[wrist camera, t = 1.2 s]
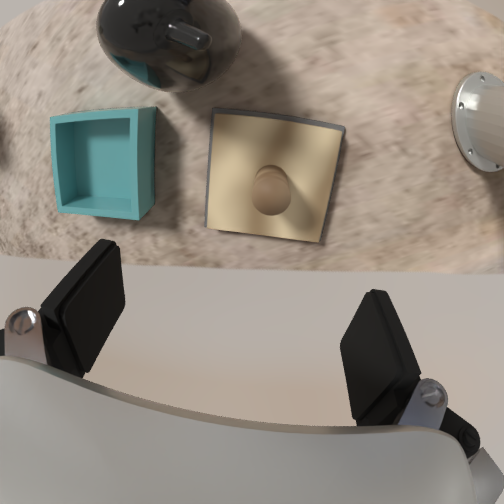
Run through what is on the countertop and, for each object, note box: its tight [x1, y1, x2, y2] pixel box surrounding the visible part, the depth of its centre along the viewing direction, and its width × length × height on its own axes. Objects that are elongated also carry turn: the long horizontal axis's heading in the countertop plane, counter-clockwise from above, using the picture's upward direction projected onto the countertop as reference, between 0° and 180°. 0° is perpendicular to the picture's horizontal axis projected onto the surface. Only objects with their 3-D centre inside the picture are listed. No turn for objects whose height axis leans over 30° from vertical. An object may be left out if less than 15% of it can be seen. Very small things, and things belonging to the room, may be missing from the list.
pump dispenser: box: [96, 0, 242, 93], centre depth 16 cm, size 10×10×15 cm
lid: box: [207, 113, 342, 243], centre depth 26 cm, size 12×12×6 cm
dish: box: [50, 107, 156, 220], centre depth 26 cm, size 11×11×4 cm
